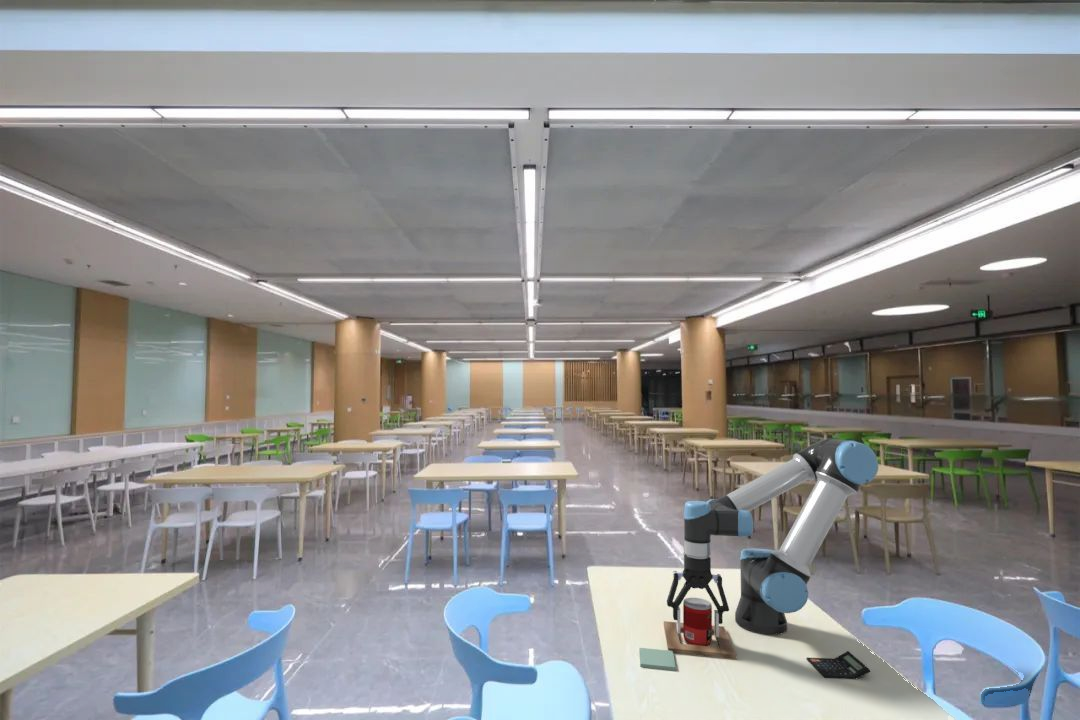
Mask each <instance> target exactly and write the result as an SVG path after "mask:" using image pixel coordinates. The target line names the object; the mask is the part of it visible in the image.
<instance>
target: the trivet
mask: <svg viewBox="0 0 1080 720" xmlns="http://www.w3.org/2000/svg"><path fill="white" fill-rule="evenodd" d="M638 649H639V650H638V652H639V665H640V668H648V669H659V670H667V671H676V670H677V668H676V663H675V657H674V653H673V651H669V650H668V649H667V650H666V649H657V648H645V647H638Z"/></svg>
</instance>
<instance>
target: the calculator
mask: <svg viewBox="0 0 1080 720" xmlns="http://www.w3.org/2000/svg"><path fill="white" fill-rule="evenodd" d="M806 661H807V662H808V663H809V664H810V665H811V666H812V667H813V668H814V669H815V670H816V671H817V672H818V673H819V674H820V675H821V676H822V677H823V678H824V679H840V680H841V679H842V680H845V679H846V680H857V679H859V678H861V677H864V676H866V675H867V674H869V673H871V670H870V668H868V667H867V666H866V665H865V663H863V662H862V661H860V660H859V659H858V658H857V657H856V656H855V655H854V654H852V653H851V652H850V651H849V650H846V651H845V652H844V653H842V654H839V655H838V656H836V657H834V658H832V657H829V658H828V657H826V658H825V657H806ZM856 678H857V679H856Z"/></svg>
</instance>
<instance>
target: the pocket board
mask: <svg viewBox="0 0 1080 720" xmlns="http://www.w3.org/2000/svg"><path fill="white" fill-rule="evenodd" d="M663 629H664V634H665V640H666V645H667V650H669V651H673V654H679V655H687V656H688V655H690V656H698V657H699V656H701V657H708V658H709V657H711V658H719V659H720V658H721V659H729V660H737V653H736V651H735V648H734V646H733V644H732V642H731V640H730V637H729V635H728V632H727V630H726V629H725V626H721V625H719V637H716V635H715V626H714V625H712V635H714V639H715V641H716V643H717V646H712V645H711V646H710V645H709V646H700V645H691V644H688V643H687V644H686V643H681V642H680V637H679V636H680V635H679V633H678V632H677V621H674V622H673V621H666V620H665V621H663ZM680 633H683V622H680Z"/></svg>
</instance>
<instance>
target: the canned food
mask: <svg viewBox="0 0 1080 720" xmlns="http://www.w3.org/2000/svg"><path fill="white" fill-rule="evenodd" d="M682 602H683V603H682V604H683V607H682V609H683V610H682V612H683V615H682V616H683V617H682V618H683V620H682V621H683V622H682V623H683V632H682V633H683V635H682V636H683V640H684V641H685V642H686V643H687V644H690V645H700V646H710V645H712V642H713V639H712V638H713V634H712V626H713V611H712V610H713V607H712V603H711V602H710V601H709V600H706V599H703V598H700V597H687V598H684V599H683V601H682Z"/></svg>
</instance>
